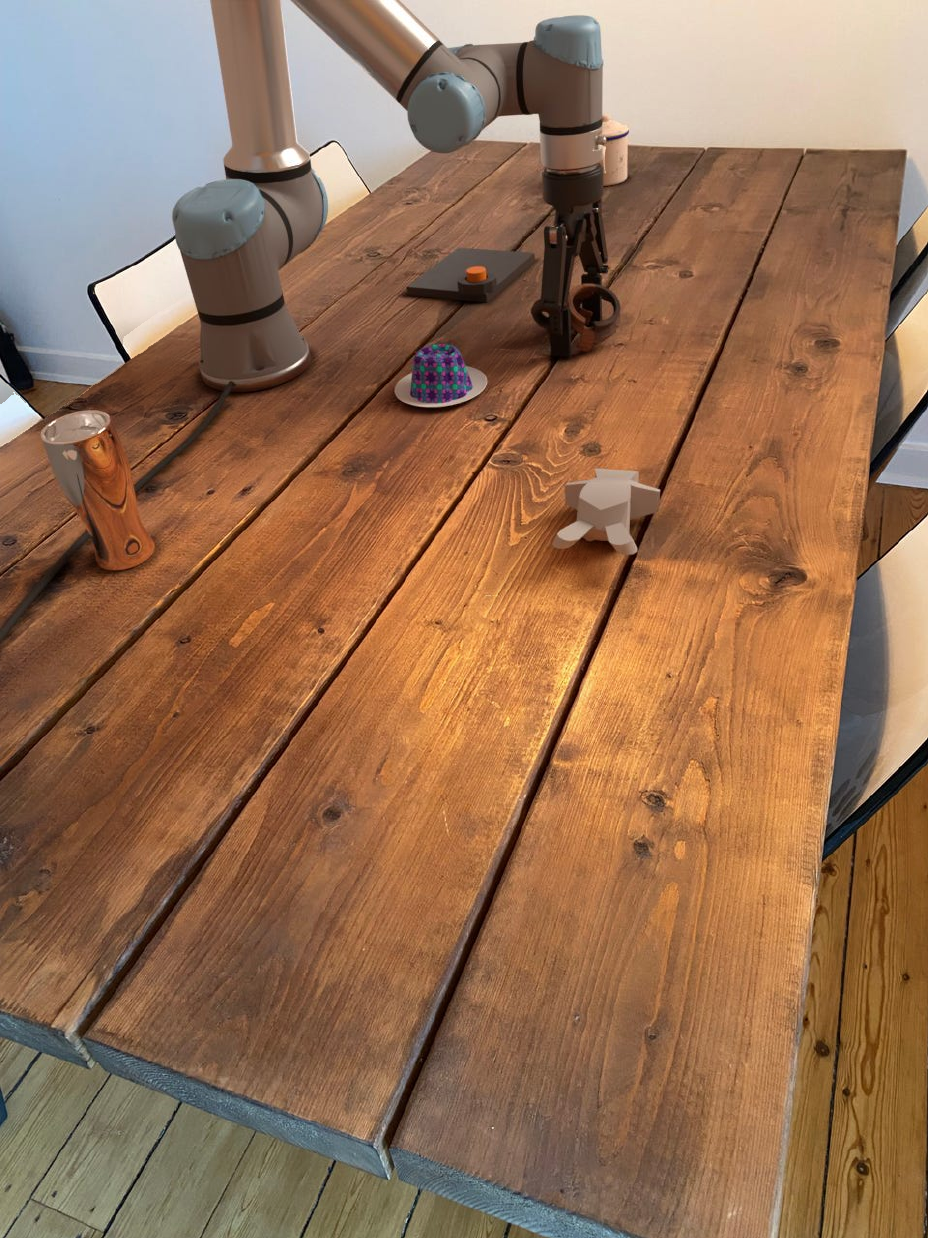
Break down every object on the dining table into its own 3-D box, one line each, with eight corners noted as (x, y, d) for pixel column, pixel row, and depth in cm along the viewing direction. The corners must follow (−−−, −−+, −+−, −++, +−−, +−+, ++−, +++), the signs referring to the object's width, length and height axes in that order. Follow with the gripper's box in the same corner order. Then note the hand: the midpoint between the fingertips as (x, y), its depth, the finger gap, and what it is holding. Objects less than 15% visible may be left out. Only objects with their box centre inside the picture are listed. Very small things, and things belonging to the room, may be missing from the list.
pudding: (497, 371, 125) (494, 332, 121) (474, 414, 116) (470, 374, 113) (411, 368, 128) (406, 331, 125) (382, 410, 119) (375, 371, 116)
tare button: (481, 284, 142) (480, 273, 141) (463, 282, 143) (462, 272, 142) (489, 276, 144) (489, 266, 143) (472, 275, 145) (471, 265, 144)
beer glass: (134, 527, 103) (86, 402, 94) (172, 547, 100) (126, 419, 90) (79, 560, 100) (23, 433, 90) (117, 581, 96) (63, 451, 86)
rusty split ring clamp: (607, 322, 134) (625, 280, 127) (608, 375, 131) (627, 336, 123) (524, 309, 133) (538, 266, 125) (523, 364, 129) (537, 323, 122)
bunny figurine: (667, 459, 96) (645, 527, 84) (664, 504, 99) (643, 576, 87) (574, 453, 99) (541, 518, 87) (574, 498, 101) (542, 567, 89)
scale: (487, 305, 142) (485, 285, 140) (404, 297, 148) (401, 278, 146) (537, 261, 155) (536, 242, 153) (459, 255, 161) (457, 237, 159)
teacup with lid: (584, 174, 190) (583, 110, 183) (630, 172, 188) (630, 107, 181) (577, 192, 182) (576, 125, 174) (625, 190, 180) (626, 122, 172)
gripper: (564, 195, 107) (570, 377, 121) (633, 140, 122) (631, 307, 136) (504, 193, 110) (517, 371, 124) (578, 139, 125) (582, 303, 139)
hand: (577, 337), depth 130 cm, fingers open, 11 cm apart
